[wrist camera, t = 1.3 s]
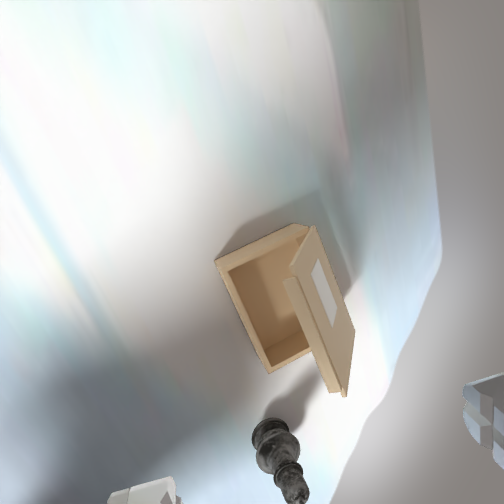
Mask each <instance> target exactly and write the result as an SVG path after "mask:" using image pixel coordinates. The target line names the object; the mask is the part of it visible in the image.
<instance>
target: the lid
mask: <svg viewBox="0 0 504 504" xmlns="http://www.w3.org/2000/svg"><path fill="white" fill-rule="evenodd" d="M289 268H290V271H291V273H292V275H293V277H292V278H288V279H284V280H283V281H282V282H283V284H284V287H285V289H286V291H287V294H288V296H289V299H290V301H291V303H292V306H293V308H294V310H295V313H296V315H297V318H298V320H299V322H300V325H301V327H302V330H303V332H304V334H305V337H306V339H307V341H308V344H309V346H310V349H311V351H312V353H313V356H314V358H315V361H316V363H317V365H318V368H319V370H320V372H321V375H322V377H323V380H324V382H325V384H326V387H327V389H328V392H329V393H335V392H341V395H342V397H347V390H348V383H349V375H350V368H351V360H352V353H353V345H354V337H355V329H354V326H353V324H352V321H351V318H350V316H349V313H348V310H347V308H346V305H345V303H344V300H343V297H342V295H341V292H340V289H339V287H338V284H337V281H336V279H335V276H334V274H333V271H332V268H331V266H330V263H329V260H328V258H327V255H326V253H325V250H324V247H323V245H322V242H321V239H320V237H319V234H318V231H317V229H316V226H315V225H314V226H311V228H310V230H309V232H308V233H307V235H306V237H305V239H304V240H303V242H302V244H301V246H300V247H299V249H298V251H297V253H296V254H295V256H294V258H293V260H292V262H291V263H290V265H289Z"/></svg>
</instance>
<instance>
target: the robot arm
mask: <svg viewBox="0 0 504 504" xmlns="http://www.w3.org/2000/svg"><path fill="white" fill-rule="evenodd" d="M463 397H464V398H465V399H466V400H467V401H468V402H467V404H466V405H465V407H464V408H463V416H464V421H465V423H466V426H467V428H468V430H469V432H470V433H471V434H472V436H473V437H474V438H475V440H476V441H477V442H478V443H479V444H480V445H482V446H484V447H486V448H488V449H491V450H492V452H493V458H494V460H495V461H496V462H497V463H498V464H499V465H500V466H501V468H503V470H504V372H503V373H500V374H498V375H497V374H496V375H493V376H490V377H487V378H483V379H480V380H477V381H474V382H471V383H468V384H465V386H464V387H463ZM107 504H183V502H182V500H181V498H180V497H178V496H176V484H175V482H174V480H173V478H172V476H168V477H165V478H161V479H158V480H154V481H151V482H147V483H143V484H140V485H136V486H133V487H130V488H127V489H123V490H120V491H116V492H113V493H111V495H110V497H109V499H108V501H107Z"/></svg>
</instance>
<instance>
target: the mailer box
mask: <svg viewBox="0 0 504 504" xmlns="http://www.w3.org/2000/svg"><path fill="white" fill-rule="evenodd" d="M309 230H310V229H309V226H305V225H300V224H296V223H292V224H290V225H288V226H286V227H284V228H282V229H280V230H277V231H275V232H273V233H271V234H269V235H267V236H265V237H263V238H261V239H258V240H256V241H254V242H252V243H250V244H248V245H246V246H244V247H242V248H239V249H237V250H235V251H233V252H231V253H229V254H227V255H225V256H223V257H220V258H218V259H216V260H214V262H215V264H216V266H217V269H218V271H219V273H220V275H221V277H222V279H223V281H224V284H225V286H226V288H227V290H228V292H229V294H230V297H231V299H232V301H233V303H234V305H235V307H236V310H237V312H238V314H239V316H240V318H241V320H242V323H243V325H244V327H245V329H246V331H247V333H248V336H249V338H250V340H251V342H252V344H253V346H254V348H255V351H256V353H257V355H258V357H259V359H260V360H261V362H262V364H263V365H264V367H265V369H266V370H267V372H268V374H270V373H272V372H274V371H276V370H277V369H279V368H281V367H283V366H285V365H287V364H289V363H290V362H292V361H294V360H296V359H298V358H300V357H302V356H303V355H305V354H307V353H309V352H311V349H310V346H309V344H308V341H307V339H306V337H305V334H304V332H303V330H302V327H301V325H300V322H299V320H298V318H297V315H296V313H295V310H294V308H293V306H292V303H291V301H290V299H289V296H288V294H287V291H286V289H285V287H284V284H283V282H282V281H283V280H284V279H288V278H292V277H293V275H292V273H291V271H290V268H289V265H290V263H291V262H292V260H293V258H294V256H295V254H296V253H297V251H298V249H299V247H300V246H301V244H302V242H303V240H304V239H305V237H306V235H307V233H308V232H309Z"/></svg>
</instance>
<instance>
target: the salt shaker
mask: <svg viewBox="0 0 504 504" xmlns="http://www.w3.org/2000/svg"><path fill="white" fill-rule="evenodd" d="M252 444H253V446H254V448H255V449H256V450H257V453H256V461H257V464H258V466H259V468H260V469H261V470H262V471H264V472H265V473H268V474H272V475H273V474H274V483H275V485H276V486H277V487H279V488H280V489H281V491H282V494H283V496H284V498H285V501H286V502H287V504H305V503H306V502H307V500H308V498H309V488H308V486H307V484H306V482H305V480H304V478H303V469H302V467H301V465H300V464H299V463H297V460H298V458H299V455H300V444H299V442H298V440H297V438H296V437H295V436H294V435H292V434H290V433H289V429H288V426H287V424H286V423H285V422H284V421H282V420H281V419H277V418H269V419H266V420H264V421H262V422H261V423H260V424H258V425H257V427H256V428H255V429H254V432H253V434H252Z"/></svg>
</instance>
